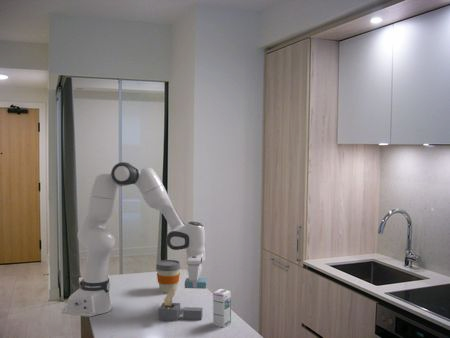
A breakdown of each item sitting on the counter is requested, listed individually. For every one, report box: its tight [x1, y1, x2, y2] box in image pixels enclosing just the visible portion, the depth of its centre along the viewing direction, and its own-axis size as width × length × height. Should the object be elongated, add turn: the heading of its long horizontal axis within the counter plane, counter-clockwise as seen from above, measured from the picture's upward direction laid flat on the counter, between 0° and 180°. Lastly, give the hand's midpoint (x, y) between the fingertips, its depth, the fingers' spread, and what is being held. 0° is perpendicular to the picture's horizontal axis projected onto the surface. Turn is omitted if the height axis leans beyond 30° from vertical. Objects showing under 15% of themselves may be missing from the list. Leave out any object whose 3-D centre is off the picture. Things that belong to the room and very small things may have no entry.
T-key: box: [164, 289, 176, 308], centre depth 204 cm, size 14×2×10 cm, turn 176°
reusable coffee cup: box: [155, 259, 181, 294], centre depth 240 cm, size 13×13×15 cm
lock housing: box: [158, 302, 203, 322], centre depth 204 cm, size 18×8×5 cm, turn 86°
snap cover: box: [184, 277, 208, 290], centre depth 215 cm, size 10×6×3 cm, turn 86°
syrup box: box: [212, 288, 232, 328], centre depth 196 cm, size 6×6×14 cm
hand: (196, 285), depth 215 cm, fingers closed on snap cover, 6 cm apart
